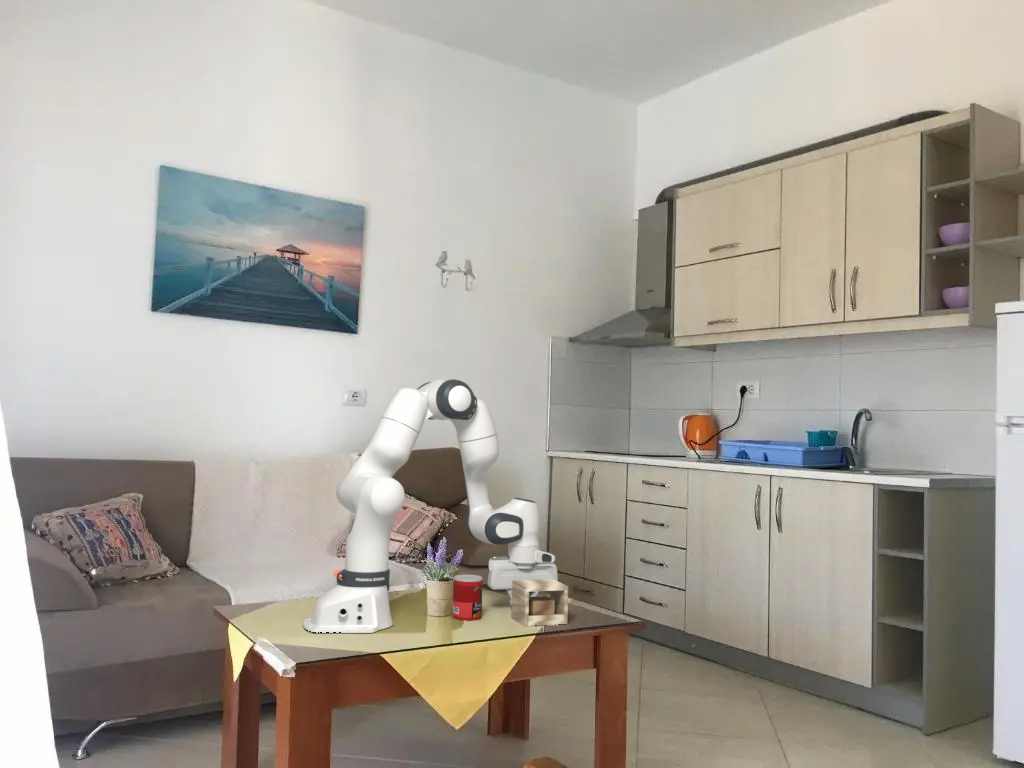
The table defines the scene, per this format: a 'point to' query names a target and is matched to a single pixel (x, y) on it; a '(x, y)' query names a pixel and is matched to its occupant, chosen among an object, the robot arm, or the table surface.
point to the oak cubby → (522, 601)
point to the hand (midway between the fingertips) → (522, 604)
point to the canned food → (467, 597)
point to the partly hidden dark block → (541, 606)
